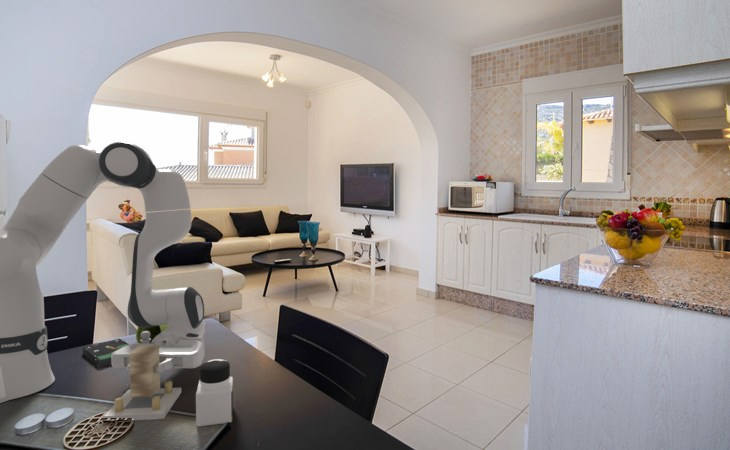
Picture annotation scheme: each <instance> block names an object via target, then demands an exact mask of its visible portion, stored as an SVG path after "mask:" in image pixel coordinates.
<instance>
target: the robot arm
mask: <svg viewBox="0 0 730 450" xmlns="http://www.w3.org/2000/svg"><path fill="white" fill-rule="evenodd" d="M105 182H110V183H113V184H116V185H117V186H120V187H123V188H135V189H138V190H139V192H140V193H141V195H142V198H143V202H144V210H145V222H144V226H143V227H142V230H141V232H139V233H138V234H137V235H136V237H135V240H134V245H133V251H132V252H133V253H132V266H131V267H132V268H131V284H130V285H131V286H130V295H129V299H128V304H127V317H128V319H129V320H130V322H132V323H133V324H134V325H135V326H136V327H137V328H138V327H139V328H148V327H153V326H157V325H167V324H168V328H167V329H165V330H164V331H163V332H161V333H160V334H159V335H157V336H156V337H155V338H154V339H153V340H152V342H151V344H138V343H131V344H129V345H127V346H124V347H122V348H120V349H119V350H117V351H115V352H113V353H112V356H111V364H112V365H111V367H112V368H113V369H116V370H117V369H119V370H120V369H126V374H130V359H129V353H130V352H131V351H133V350H134V349H135V348H137V347H138V346H158V345H159V361H160V363H156V364H155V365H154V367H153V370H154V371H153V373H160V374H162V372H164V371H167V370H170V369H195V368H199V367H200V366H201V365H202V364H203V361H204V359H205V350H206V349H205V345H206V344H205V337H204V335H205V332H206V323H205V320H204V318H205V304H204V300H203V296H202V295H201V294H200V293H199V291H198V290H196V289H195V288H194V287H191V286H184V287H172V288H165V289H164V288H163V289H154V288H153V273H154V272H153V270H154V261H155V257H156V256H157V254H159V253H160V252H161V251H162V250H164V249H166V248H168V247H170V246H172V245H175V244H176V243H178V242H180V241H181V240H183V239H184V238H185V237H186V236H188V233H189V232H190V230H191V229H192V212H191V211H192V210H191V203H190V196H189V193H188V189H187V186H186V183H185V180H184V177H183V176H182V174H181V173H180V172H178V171H176V170H172V169H169V168H168V169H167V168H157V167H156V165H155V164H154V163H153V160H152V158H151V157H150V155H149V154H148V153H147V152H146V150H145V149H143V148H142V147H140V146H138V145H136V144H134V143H132V142H129V141H115V142H112V143H110V144H108V145H107V146H106V147H104V148H103V149H102V151H100V152H99V151H98V150H95V148H94V149H93V148H91V147H90V146H86V145H83V144H73V145H69V146H68V147H67V148H65V149H64V150H63V151H61V152H60V153H59V154H58V155H57V156H55V158H54V159H53V160H52V161H50V162H49V164H48V165H47V166H46V167H45V168H44V169H43V170H42V172H40V174H39V175H38V176H37V177H36V179H35V180H34V181H33V182H32V183H31V185H29V187H28V188H27V189H26V190H25V192H24V193H23V195H22V196H21V197H20V198H19V200H18V203H17V205H16V207H15V209H14V211H13V212H12V214H11V215H10V217H9V219H8V221H7V222H6V223H5V224H4V226H3V227H2V228H1V229H0V404H2V403H4V402H7V401H10V400H14V399H19V398H22V397H26V396H29V395H32V394H35V393H37V392H40V391H42V390H44V389H46V388H48V387H50V386H51V385H52V384H53V383H54V382H55V381H56V377H55V375H54V373H53V371H52V369H51V364H50V361H49V356H48V350H47V349H48V341H49V340H48V328H47V326H46V325H45V302H44V294H43V292H42V290H41V288H40V282H39V280H38V274H37V266H38V265H40V264H41V263H42V262H43V261H44V259H46V257H47V255H49V253H50V251H51V249H53V247H54V246H55V244H56V243H57V241H58V240H59V239H60V237H61V235H62V234H63V232H64V230H65V229H66V227H67V226H68V224H69V223H70V222H71V220H72V219H73V218H74V217H75V215H76V214H77V213H78V211H80V210H81V208H82V207H83V205H84V204H85V203H86V202H87V200H88V199H89V198H90V197H91V195H92V194H93V193H94V191H95V190H96V189H97V188H98V187H99V186H100V185H101V184H103V183H105Z"/></svg>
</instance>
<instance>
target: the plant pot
mask: <svg viewBox="0 0 730 450" xmlns="http://www.w3.org/2000/svg"><path fill="white" fill-rule="evenodd" d="M136 328H137V329H136V332H135V339H136V342H137V343H136V344H142V342H141V341H140V340H141V339H142V338H141V333H142V332H143V331H149V332H150V337H149V338H151V340H150V341H149V344H151V342H152V340H153V339H154V338H155V337H156V336H157V335H159V334H160V333H161V332H163V331H164V330H165V329H167V328H168V324H167V325H157V326H153V327H148V328H139V327H138V326H137V327H136Z"/></svg>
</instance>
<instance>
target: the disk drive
mask: <svg viewBox="0 0 730 450" xmlns="http://www.w3.org/2000/svg"><path fill="white" fill-rule="evenodd" d="M127 345H130V344H129V343H127V342H126V341H124V340H123V339H120V338H116V339H112V340H111V339H110V340H107V341H102V342H99V343H97V344H95V345H92V344H90V345H84V346H82V355H83V356H85V358H87V359H88V360H89V361H91V362H92V363H93V364H94V365H95V366H97V367H98V368H99V369H100V368H103V367H107V366H112V364H111V356H112V353H113V352H115V351H117V350H119V349H120V348H122V347H124V346H127Z"/></svg>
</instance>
